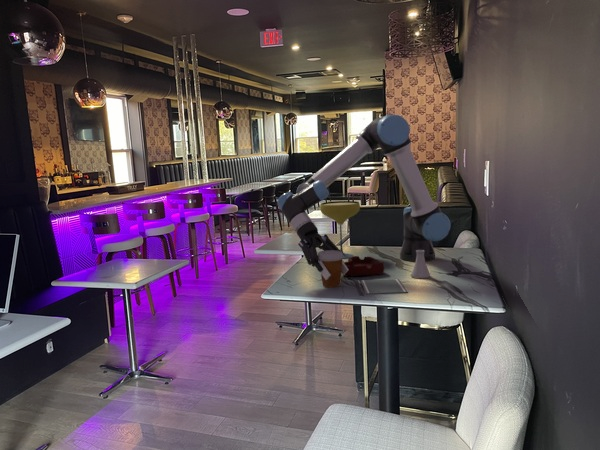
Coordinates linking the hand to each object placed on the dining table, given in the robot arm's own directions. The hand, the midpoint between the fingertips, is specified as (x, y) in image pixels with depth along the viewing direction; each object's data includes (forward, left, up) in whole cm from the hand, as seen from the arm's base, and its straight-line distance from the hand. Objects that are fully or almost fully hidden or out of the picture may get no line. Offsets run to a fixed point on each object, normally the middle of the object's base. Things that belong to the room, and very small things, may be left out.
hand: (337, 274), depth 165 cm
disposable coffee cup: (+2, -2, -4) cm, 5 cm away
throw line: (-7, +3, -4) cm, 9 cm away
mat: (-16, +3, -4) cm, 17 cm away
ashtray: (-12, -18, -5) cm, 22 cm away
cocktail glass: (-5, -49, -4) cm, 50 cm away
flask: (-32, -9, -5) cm, 33 cm away
